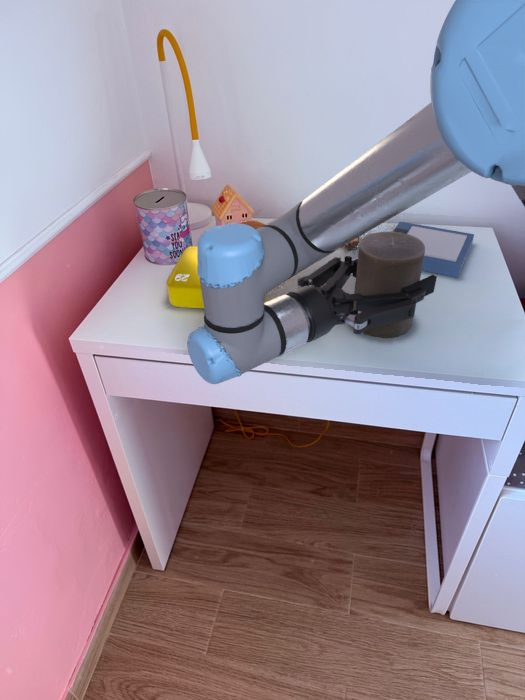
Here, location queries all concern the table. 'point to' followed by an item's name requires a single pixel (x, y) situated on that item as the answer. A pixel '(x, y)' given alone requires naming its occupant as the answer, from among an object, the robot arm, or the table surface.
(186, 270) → the element tile
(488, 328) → the table surface
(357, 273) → the pillar candle
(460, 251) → the scale
